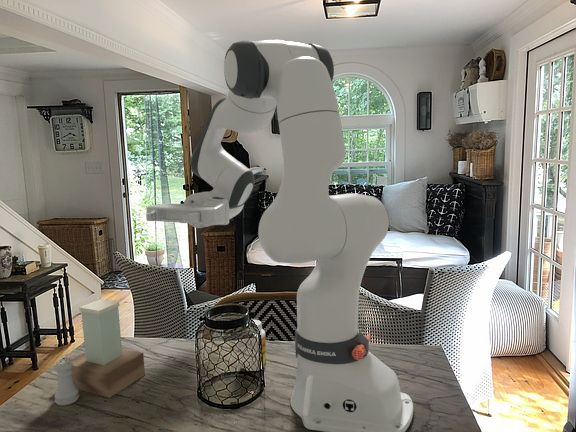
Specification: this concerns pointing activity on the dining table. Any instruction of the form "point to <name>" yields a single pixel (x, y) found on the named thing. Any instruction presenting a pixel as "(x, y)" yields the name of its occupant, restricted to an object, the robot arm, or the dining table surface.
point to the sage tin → (101, 331)
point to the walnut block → (107, 373)
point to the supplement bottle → (262, 340)
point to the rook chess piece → (65, 384)
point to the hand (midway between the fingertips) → (164, 218)
